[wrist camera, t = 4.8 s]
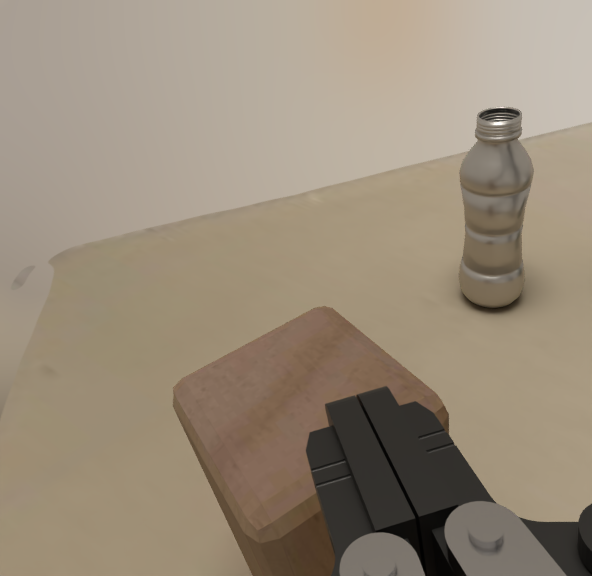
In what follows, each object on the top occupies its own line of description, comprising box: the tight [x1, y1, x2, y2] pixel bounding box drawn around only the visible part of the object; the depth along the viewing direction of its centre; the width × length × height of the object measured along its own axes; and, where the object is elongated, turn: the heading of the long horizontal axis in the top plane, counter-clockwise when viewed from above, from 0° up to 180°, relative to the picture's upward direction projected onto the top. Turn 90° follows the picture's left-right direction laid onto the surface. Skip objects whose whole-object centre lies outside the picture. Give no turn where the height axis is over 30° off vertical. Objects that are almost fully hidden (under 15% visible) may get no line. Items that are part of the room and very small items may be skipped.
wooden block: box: [173, 306, 449, 576], centre depth 30 cm, size 10×10×20 cm
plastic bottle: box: [459, 107, 534, 308], centre depth 51 cm, size 6×7×20 cm
